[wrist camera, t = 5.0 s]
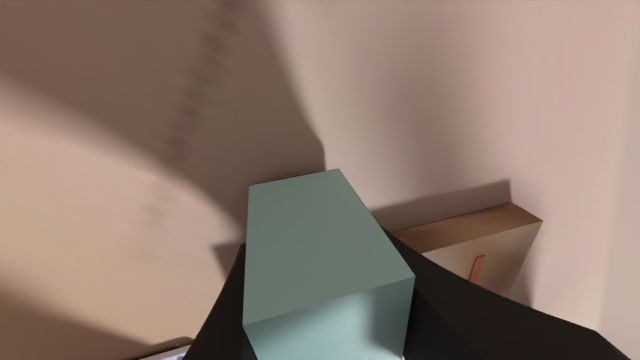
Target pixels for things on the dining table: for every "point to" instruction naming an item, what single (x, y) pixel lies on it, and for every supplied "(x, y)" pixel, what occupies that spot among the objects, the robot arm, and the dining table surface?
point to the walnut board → (478, 244)
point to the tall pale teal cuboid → (321, 274)
